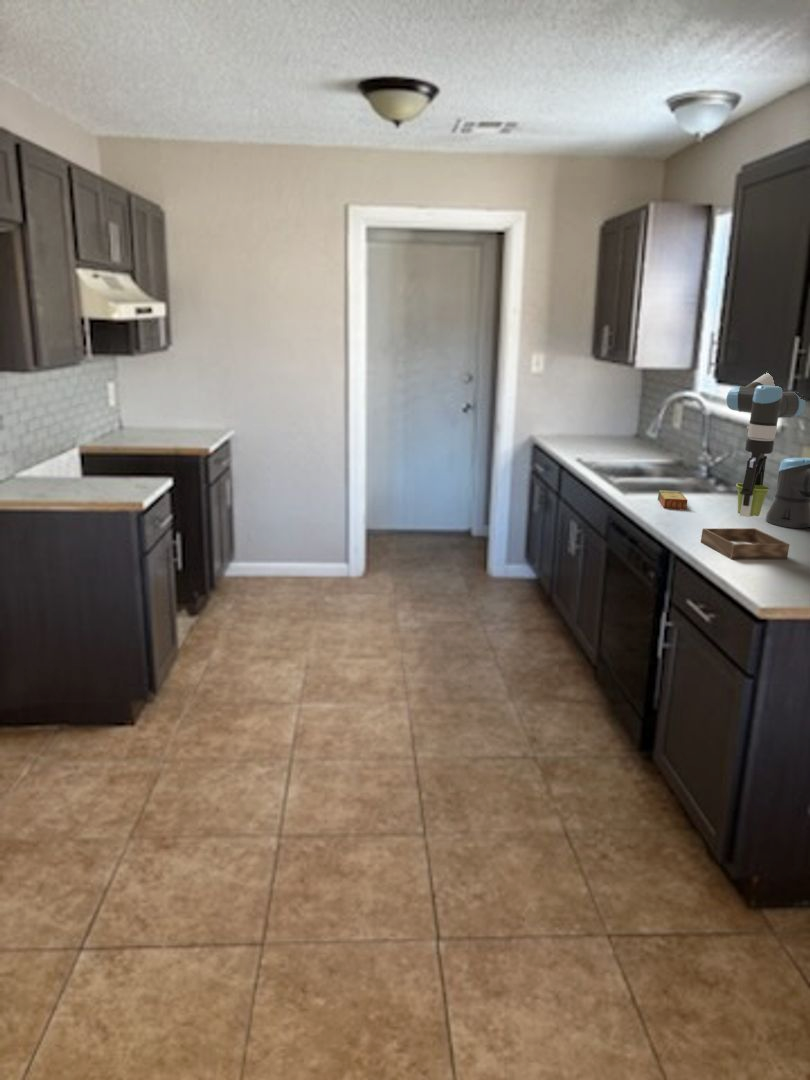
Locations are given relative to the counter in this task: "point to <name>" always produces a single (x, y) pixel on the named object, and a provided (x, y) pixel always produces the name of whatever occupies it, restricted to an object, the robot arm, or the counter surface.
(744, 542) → the brown wooden square tray
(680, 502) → the carton
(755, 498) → the plant pot
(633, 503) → the counter surface
